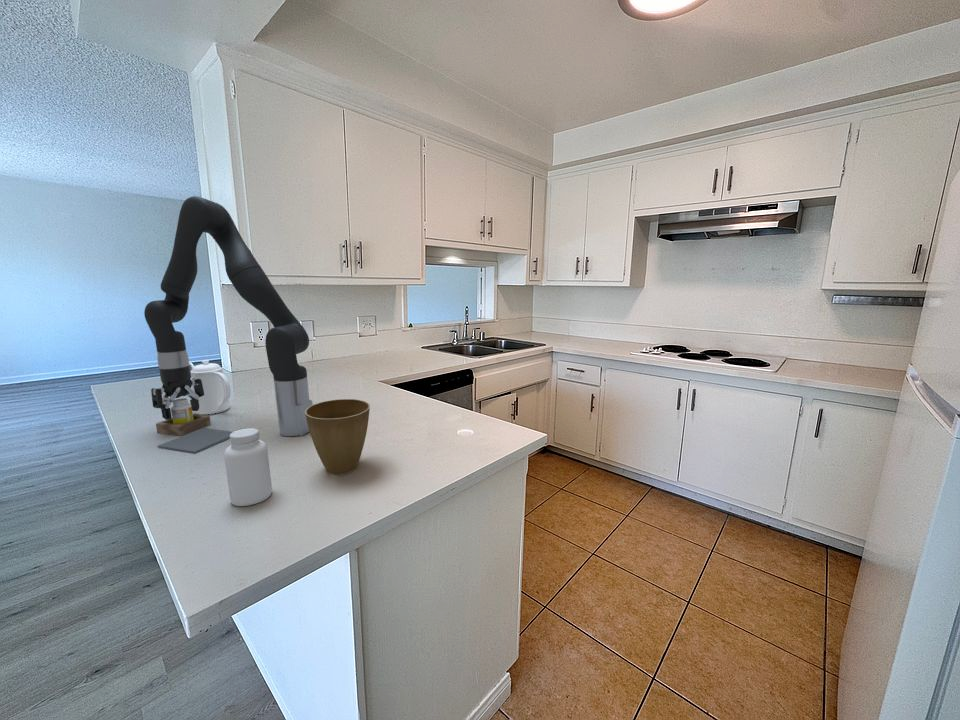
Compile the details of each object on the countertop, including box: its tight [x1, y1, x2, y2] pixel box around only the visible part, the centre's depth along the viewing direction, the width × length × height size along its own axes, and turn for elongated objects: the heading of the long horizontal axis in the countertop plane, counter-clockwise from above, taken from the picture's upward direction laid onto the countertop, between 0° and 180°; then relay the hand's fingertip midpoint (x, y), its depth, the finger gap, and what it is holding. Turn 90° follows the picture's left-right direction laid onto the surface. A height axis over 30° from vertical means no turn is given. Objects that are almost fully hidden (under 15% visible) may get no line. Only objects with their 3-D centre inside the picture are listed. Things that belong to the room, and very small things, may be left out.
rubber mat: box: [157, 427, 234, 455], centre depth 114 cm, size 14×14×1 cm
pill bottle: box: [223, 427, 273, 507], centre depth 83 cm, size 8×8×15 cm
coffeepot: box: [189, 359, 231, 416], centre depth 139 cm, size 11×25×19 cm, turn 62°
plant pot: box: [305, 398, 371, 476], centre depth 96 cm, size 15×15×16 cm
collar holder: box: [155, 413, 212, 437], centre depth 123 cm, size 10×10×3 cm
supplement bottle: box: [170, 397, 194, 425], centre depth 123 cm, size 5×5×10 cm
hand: (182, 414), depth 123 cm, fingers open, 8 cm apart
